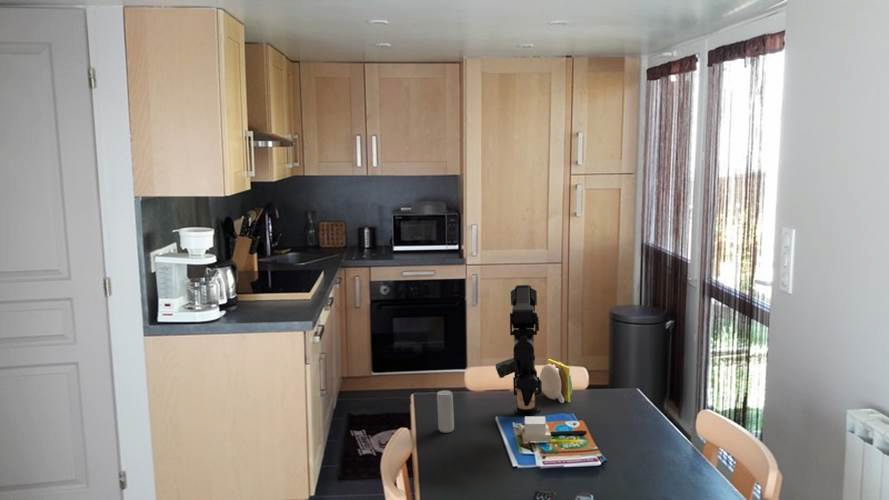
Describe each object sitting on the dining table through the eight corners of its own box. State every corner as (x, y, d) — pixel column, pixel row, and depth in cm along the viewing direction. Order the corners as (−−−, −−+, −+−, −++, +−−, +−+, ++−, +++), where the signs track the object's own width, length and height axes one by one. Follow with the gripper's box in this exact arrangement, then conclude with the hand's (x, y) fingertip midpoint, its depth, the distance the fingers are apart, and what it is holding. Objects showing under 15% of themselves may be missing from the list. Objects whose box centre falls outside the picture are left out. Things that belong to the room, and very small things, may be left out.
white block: (525, 426, 212) (524, 416, 212) (545, 426, 211) (545, 416, 211) (525, 433, 206) (524, 423, 206) (545, 433, 205) (545, 423, 205)
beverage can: (452, 433, 215) (450, 395, 214) (437, 432, 216) (435, 395, 215) (455, 427, 220) (453, 390, 219) (440, 427, 221) (438, 390, 220)
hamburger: (535, 395, 247) (534, 361, 245) (555, 390, 250) (555, 357, 249) (555, 405, 236) (554, 370, 234) (575, 400, 239) (574, 366, 238)
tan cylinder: (525, 402, 211) (524, 385, 211) (538, 405, 208) (537, 389, 207) (514, 406, 208) (513, 390, 207) (526, 410, 204) (526, 393, 204)
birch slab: (521, 435, 213) (521, 425, 213) (548, 434, 213) (547, 424, 212) (523, 445, 205) (523, 435, 205) (551, 444, 205) (550, 434, 205)
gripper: (496, 343, 215) (497, 392, 217) (497, 361, 197) (499, 414, 199) (532, 342, 215) (534, 392, 217) (537, 359, 196) (539, 413, 198)
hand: (526, 402), depth 208 cm, fingers closed on tan cylinder, 5 cm apart
